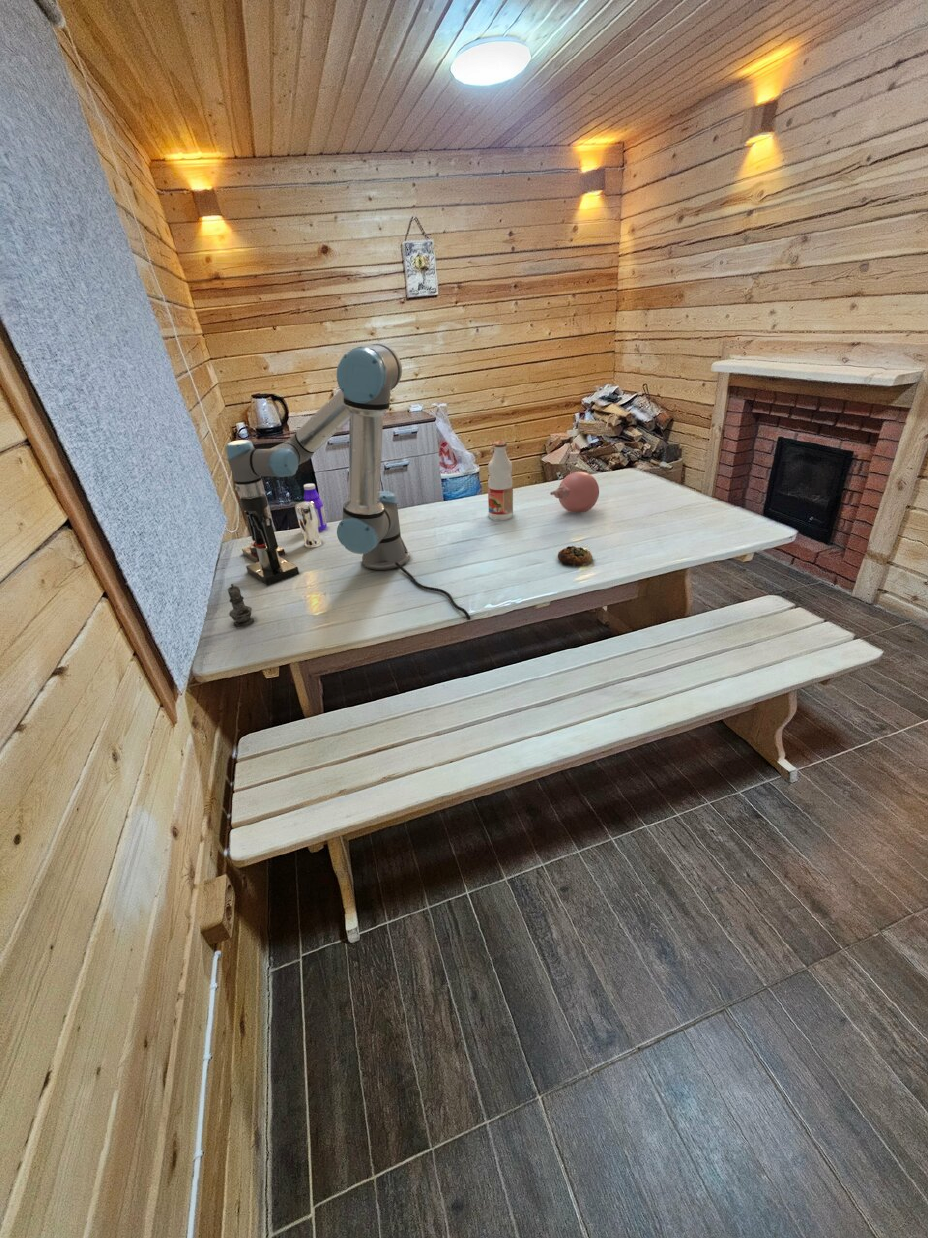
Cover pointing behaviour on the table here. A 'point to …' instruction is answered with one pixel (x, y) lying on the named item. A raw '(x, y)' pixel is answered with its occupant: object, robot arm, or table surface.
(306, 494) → the bottle
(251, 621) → the grey ringed upright piece
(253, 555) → the box
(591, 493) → the balloon
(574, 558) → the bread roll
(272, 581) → the timer panel
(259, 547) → the timer dial
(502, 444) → the fruit juice
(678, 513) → the table surface
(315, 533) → the beer glass
